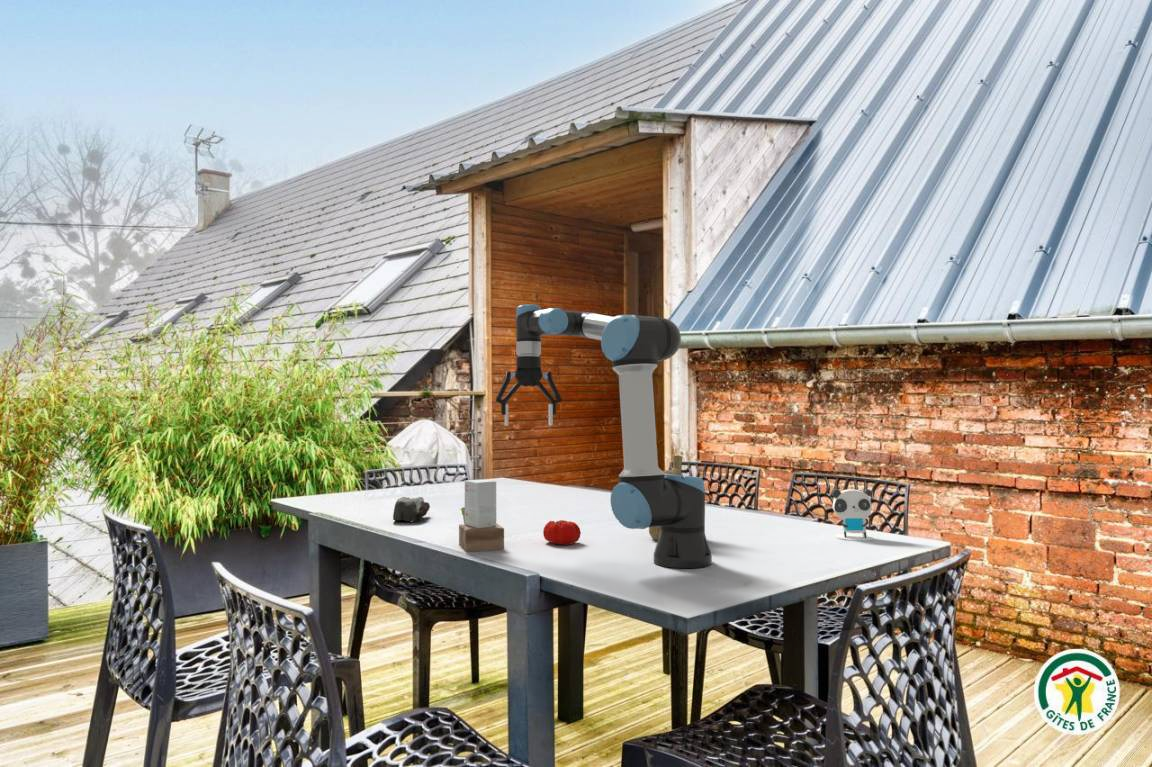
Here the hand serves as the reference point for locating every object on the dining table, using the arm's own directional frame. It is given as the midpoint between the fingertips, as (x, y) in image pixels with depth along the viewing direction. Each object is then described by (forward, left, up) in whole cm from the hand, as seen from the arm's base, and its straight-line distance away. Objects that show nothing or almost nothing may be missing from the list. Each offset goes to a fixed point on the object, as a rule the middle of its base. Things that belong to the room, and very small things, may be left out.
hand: (528, 425), depth 249 cm
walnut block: (-7, +16, -35) cm, 39 cm away
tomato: (-8, -8, -35) cm, 37 cm away
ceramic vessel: (-11, -43, -35) cm, 56 cm away
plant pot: (+12, +14, -35) cm, 39 cm away
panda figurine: (-27, -96, -35) cm, 106 cm away
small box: (-7, +16, -29) cm, 34 cm away
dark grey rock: (+52, +29, -35) cm, 69 cm away
